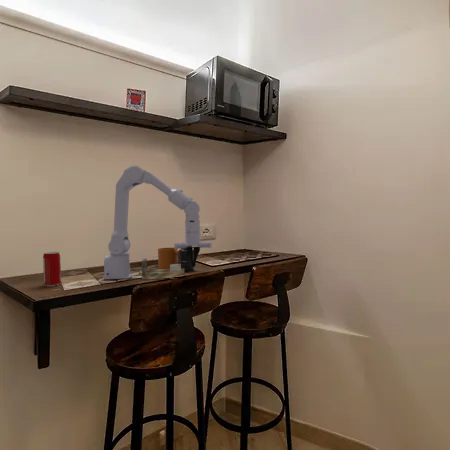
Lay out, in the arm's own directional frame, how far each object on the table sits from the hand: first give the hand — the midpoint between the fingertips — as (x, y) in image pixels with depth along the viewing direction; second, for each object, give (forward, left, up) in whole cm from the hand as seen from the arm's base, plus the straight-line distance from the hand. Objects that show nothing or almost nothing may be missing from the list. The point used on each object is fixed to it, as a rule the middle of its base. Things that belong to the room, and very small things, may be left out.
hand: (193, 266), depth 140 cm
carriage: (-7, 0, -3) cm, 8 cm away
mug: (-10, +22, -4) cm, 24 cm away
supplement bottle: (-3, +13, -4) cm, 14 cm away
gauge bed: (-12, 0, -4) cm, 12 cm away
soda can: (-51, -7, -4) cm, 51 cm away
